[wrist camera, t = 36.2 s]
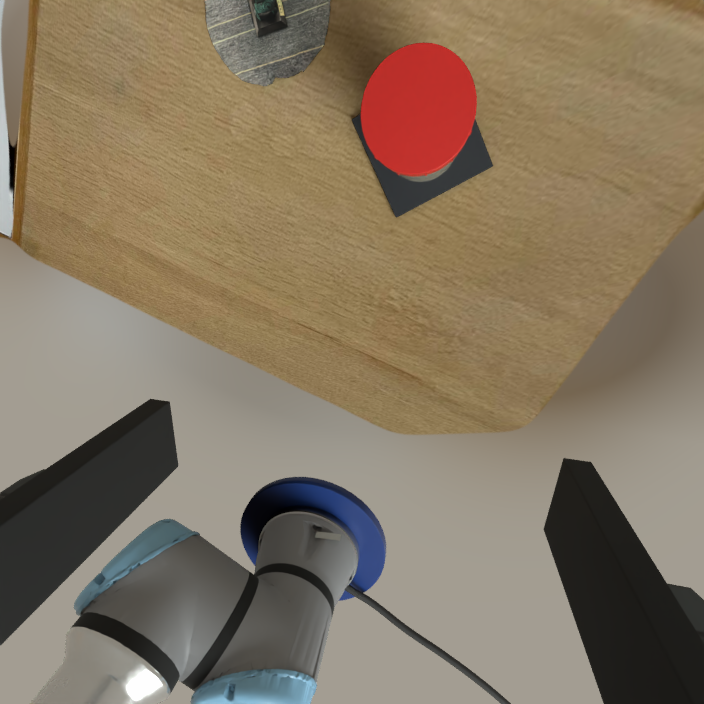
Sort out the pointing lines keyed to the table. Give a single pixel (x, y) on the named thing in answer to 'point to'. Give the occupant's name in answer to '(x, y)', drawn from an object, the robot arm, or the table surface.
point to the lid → (418, 109)
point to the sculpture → (267, 35)
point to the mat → (413, 194)
